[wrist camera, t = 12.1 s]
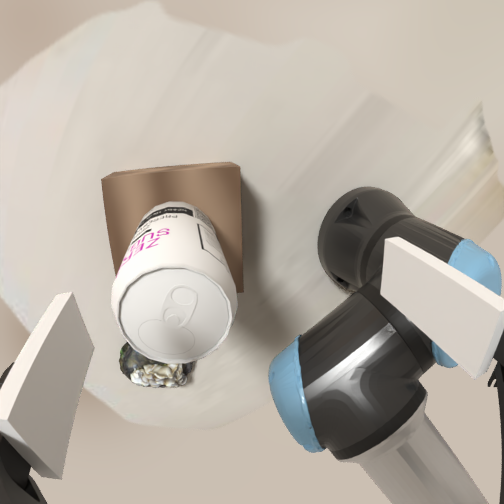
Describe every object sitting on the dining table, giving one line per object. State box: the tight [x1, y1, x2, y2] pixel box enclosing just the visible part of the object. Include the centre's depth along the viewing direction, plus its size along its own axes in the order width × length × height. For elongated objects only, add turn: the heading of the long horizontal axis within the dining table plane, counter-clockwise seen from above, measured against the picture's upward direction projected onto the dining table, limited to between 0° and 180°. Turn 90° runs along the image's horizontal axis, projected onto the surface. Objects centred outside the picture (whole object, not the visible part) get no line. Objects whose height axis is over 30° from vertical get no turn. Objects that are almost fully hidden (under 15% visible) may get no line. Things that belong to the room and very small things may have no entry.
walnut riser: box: [101, 162, 244, 293], centre depth 34 cm, size 14×14×6 cm
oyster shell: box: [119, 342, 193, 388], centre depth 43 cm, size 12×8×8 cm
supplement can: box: [111, 202, 238, 364], centre depth 24 cm, size 8×8×15 cm
